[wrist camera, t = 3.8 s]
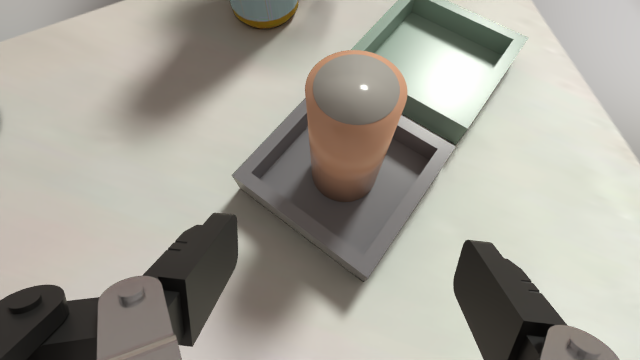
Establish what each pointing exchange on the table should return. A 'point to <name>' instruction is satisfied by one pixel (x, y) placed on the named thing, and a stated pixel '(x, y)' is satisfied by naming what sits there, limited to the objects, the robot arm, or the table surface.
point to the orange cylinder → (351, 120)
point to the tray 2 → (443, 60)
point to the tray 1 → (343, 217)
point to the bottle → (264, 11)
